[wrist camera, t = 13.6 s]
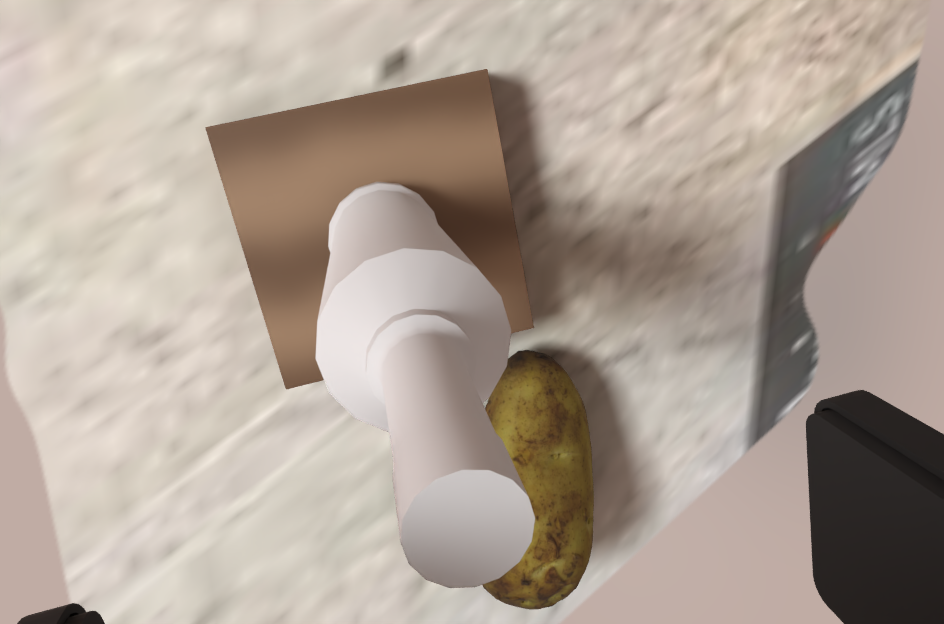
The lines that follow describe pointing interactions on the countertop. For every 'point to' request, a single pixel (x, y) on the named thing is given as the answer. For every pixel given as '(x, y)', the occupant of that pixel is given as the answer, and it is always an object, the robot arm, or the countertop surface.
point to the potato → (545, 477)
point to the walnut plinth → (355, 165)
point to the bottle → (424, 381)
